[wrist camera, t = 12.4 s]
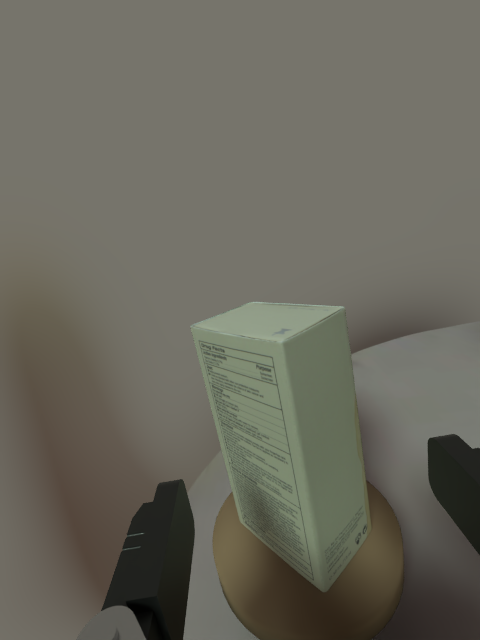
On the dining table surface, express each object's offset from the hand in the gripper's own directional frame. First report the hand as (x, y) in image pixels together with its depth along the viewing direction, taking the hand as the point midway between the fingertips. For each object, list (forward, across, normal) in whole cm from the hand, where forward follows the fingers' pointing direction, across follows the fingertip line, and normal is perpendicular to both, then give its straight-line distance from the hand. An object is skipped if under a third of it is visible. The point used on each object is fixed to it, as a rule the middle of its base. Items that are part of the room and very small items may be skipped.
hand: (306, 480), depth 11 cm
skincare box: (+6, 0, +8) cm, 10 cm away
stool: (+6, 0, +14) cm, 15 cm away
